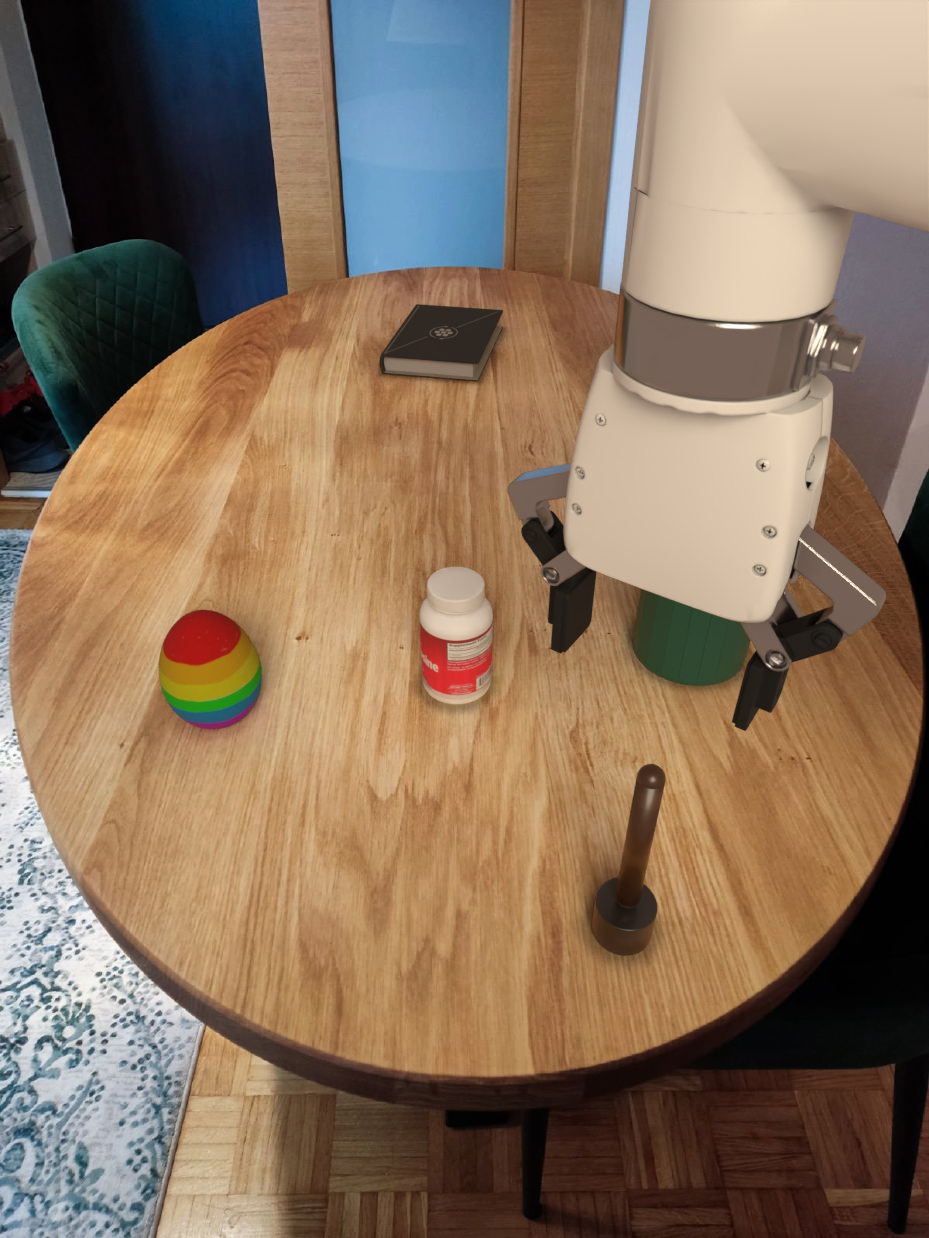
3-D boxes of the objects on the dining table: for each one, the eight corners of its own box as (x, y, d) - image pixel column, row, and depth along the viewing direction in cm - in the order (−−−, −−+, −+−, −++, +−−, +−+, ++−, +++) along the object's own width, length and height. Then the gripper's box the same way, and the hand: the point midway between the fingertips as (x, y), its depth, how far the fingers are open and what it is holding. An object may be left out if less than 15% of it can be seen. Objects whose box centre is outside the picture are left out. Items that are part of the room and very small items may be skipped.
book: (415, 321, 146) (414, 303, 145) (502, 328, 144) (503, 309, 142) (379, 374, 130) (378, 354, 128) (478, 382, 128) (478, 362, 126)
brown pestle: (660, 919, 60) (699, 759, 50) (637, 966, 57) (674, 807, 47) (605, 892, 61) (633, 732, 51) (581, 937, 59) (605, 778, 48)
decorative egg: (227, 662, 80) (207, 573, 74) (287, 702, 76) (271, 611, 70) (151, 711, 75) (122, 620, 69) (210, 756, 71) (186, 664, 65)
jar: (758, 635, 83) (785, 538, 76) (724, 700, 76) (750, 600, 69) (656, 602, 87) (672, 506, 80) (615, 660, 80) (629, 562, 73)
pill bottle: (418, 663, 80) (413, 564, 73) (484, 656, 81) (486, 557, 74) (426, 711, 75) (422, 609, 68) (497, 703, 76) (500, 602, 69)
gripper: (982, 354, 32) (853, 697, 42) (563, 271, 39) (543, 579, 50) (937, 434, 27) (804, 798, 38) (470, 321, 35) (470, 650, 45)
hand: (655, 672), depth 44 cm, fingers open, 9 cm apart
